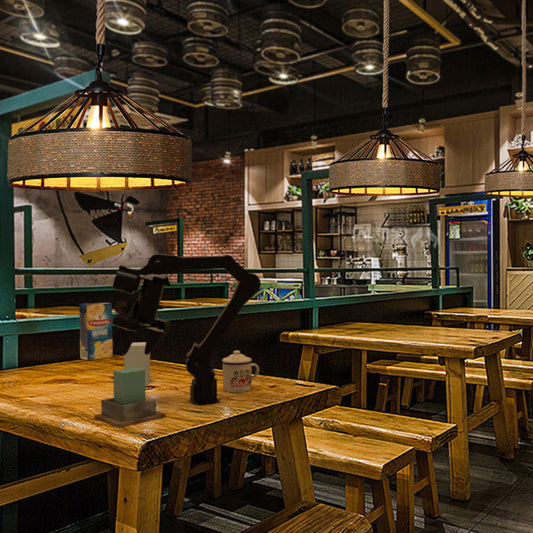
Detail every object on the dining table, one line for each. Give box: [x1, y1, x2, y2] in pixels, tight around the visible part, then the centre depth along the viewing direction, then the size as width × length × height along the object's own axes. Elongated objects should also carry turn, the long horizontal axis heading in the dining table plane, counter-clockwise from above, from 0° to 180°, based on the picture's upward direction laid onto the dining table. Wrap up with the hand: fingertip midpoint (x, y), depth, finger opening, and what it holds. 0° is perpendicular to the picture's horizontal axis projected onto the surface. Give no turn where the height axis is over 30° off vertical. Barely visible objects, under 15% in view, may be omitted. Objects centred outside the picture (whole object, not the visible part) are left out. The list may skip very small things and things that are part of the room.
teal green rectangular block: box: [112, 368, 147, 406], centre depth 147 cm, size 6×5×11 cm
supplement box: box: [123, 341, 152, 386], centre depth 189 cm, size 7×7×13 cm
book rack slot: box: [93, 397, 166, 429], centre depth 147 cm, size 13×12×4 cm
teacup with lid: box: [221, 350, 260, 393], centre depth 178 cm, size 12×9×12 cm
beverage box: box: [78, 302, 114, 361], centre depth 241 cm, size 7×11×22 cm, turn 133°
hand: (135, 354), depth 160 cm, fingers open, 9 cm apart
